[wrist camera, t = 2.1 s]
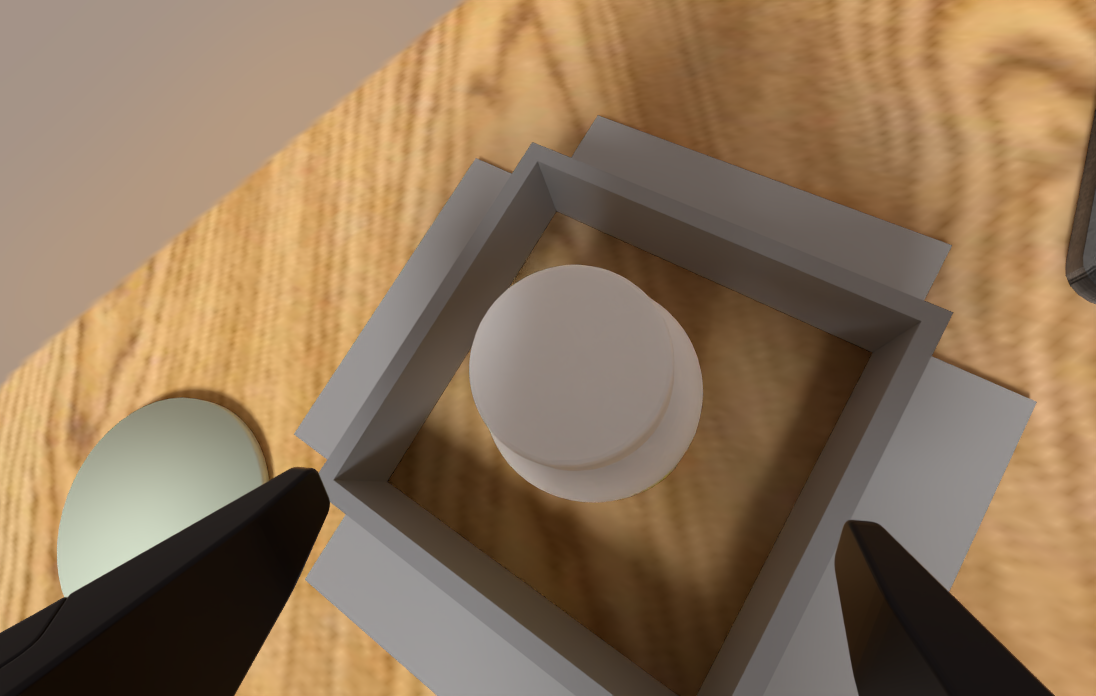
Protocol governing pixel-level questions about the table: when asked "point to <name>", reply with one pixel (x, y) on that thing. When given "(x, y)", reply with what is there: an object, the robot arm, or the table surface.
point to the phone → (1085, 231)
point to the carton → (732, 261)
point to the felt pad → (153, 484)
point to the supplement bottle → (586, 384)
